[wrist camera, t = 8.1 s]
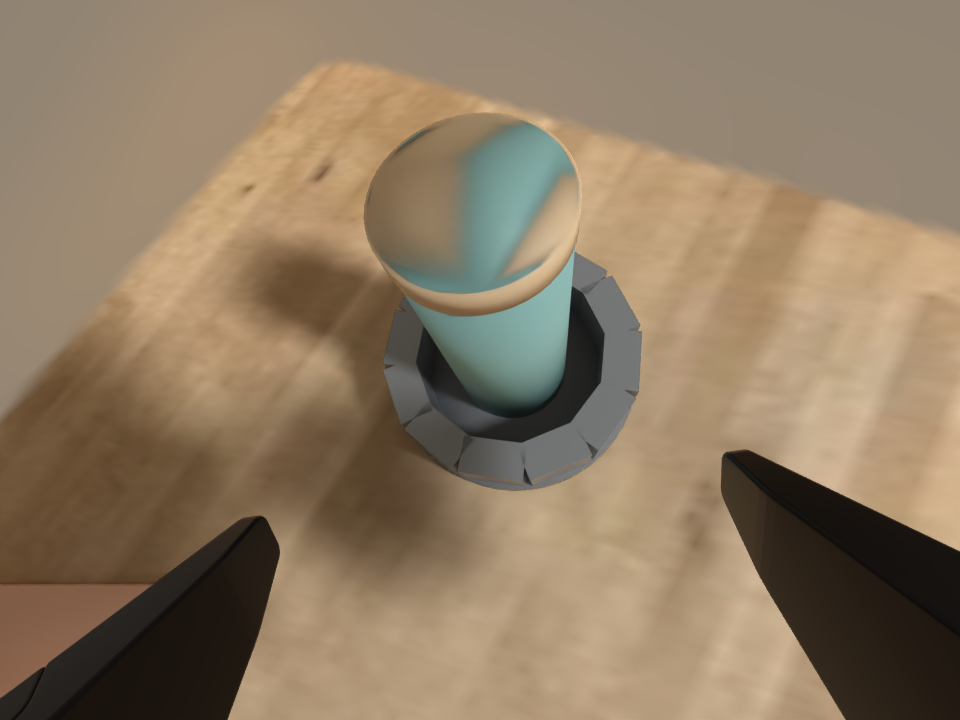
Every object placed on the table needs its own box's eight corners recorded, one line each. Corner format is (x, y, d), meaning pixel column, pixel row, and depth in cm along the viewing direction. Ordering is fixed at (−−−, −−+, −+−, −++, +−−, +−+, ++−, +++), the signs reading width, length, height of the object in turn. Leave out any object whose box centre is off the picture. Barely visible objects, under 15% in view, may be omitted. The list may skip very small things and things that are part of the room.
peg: (560, 426, 17) (570, 305, 8) (451, 412, 18) (340, 287, 8) (570, 323, 18) (590, 112, 9) (469, 315, 19) (389, 112, 10)
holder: (626, 509, 16) (640, 506, 14) (380, 471, 18) (353, 462, 16) (639, 277, 19) (652, 241, 17) (426, 263, 21) (409, 229, 18)
